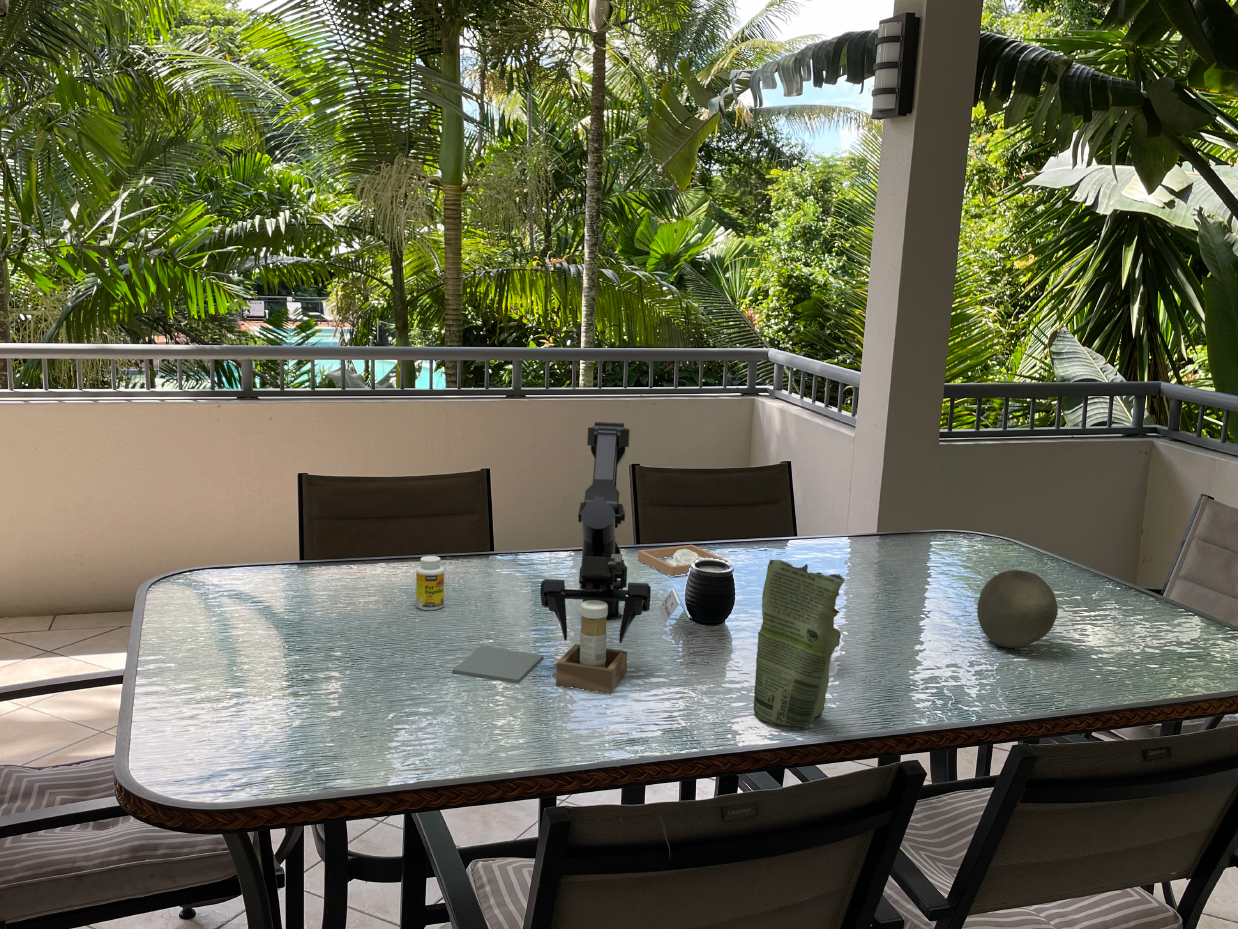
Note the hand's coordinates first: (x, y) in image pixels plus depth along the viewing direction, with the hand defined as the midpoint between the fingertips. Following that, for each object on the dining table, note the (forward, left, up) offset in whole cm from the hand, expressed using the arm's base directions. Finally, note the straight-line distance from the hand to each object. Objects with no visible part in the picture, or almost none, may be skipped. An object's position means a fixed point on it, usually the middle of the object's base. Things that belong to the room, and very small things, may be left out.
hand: (592, 640), depth 166 cm
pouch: (-23, +25, -8) cm, 34 cm away
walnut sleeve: (-1, -1, -7) cm, 7 cm away
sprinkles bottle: (-1, -1, -8) cm, 8 cm away
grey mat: (+11, -13, -7) cm, 19 cm away
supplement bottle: (+12, -48, -8) cm, 50 cm away
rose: (-53, -54, -8) cm, 76 cm away
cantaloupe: (-83, +17, -8) cm, 85 cm away
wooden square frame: (-53, -55, -7) cm, 76 cm away
